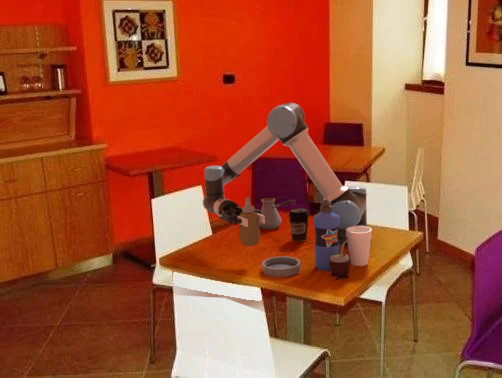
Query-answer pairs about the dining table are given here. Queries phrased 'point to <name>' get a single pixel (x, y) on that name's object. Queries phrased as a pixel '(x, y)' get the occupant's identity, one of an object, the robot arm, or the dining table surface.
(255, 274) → the dining table surface
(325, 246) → the water bottle
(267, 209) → the coffee pot
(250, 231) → the squeeze bottle
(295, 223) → the coffee cup
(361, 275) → the dining table surface
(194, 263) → the dining table surface
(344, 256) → the mate gourd
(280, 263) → the dish
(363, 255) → the foam cup
